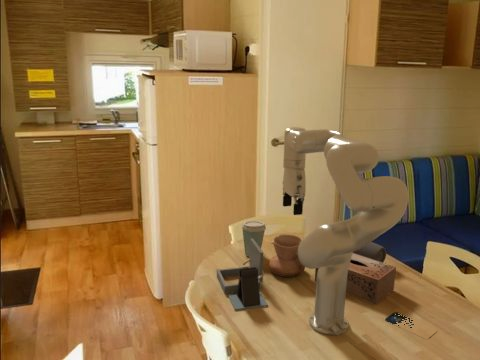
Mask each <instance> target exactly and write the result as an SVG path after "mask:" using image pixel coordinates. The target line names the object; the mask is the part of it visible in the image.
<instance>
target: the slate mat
mask: <svg viewBox="0 0 480 360" xmlns="http://www.w3.org/2000/svg"><path fill="white" fill-rule="evenodd" d="M259 294H260V305H253V306H247V307H244V306H243V304H242V303H241V301H240V300H239V298H238V297H237V293H230V294H227V295H228V298H229V300H230V304H231V306H232V307H233V309H234V312H235V311H243V310H251V309H257V308H266V307H269V304H268V302H267V301H266V299H265V298H264V296H263V294H262V292H261V290H259Z"/></svg>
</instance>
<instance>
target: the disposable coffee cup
mask: <svg viewBox="0 0 480 360" xmlns="http://www.w3.org/2000/svg"><path fill="white" fill-rule="evenodd" d="M266 227H267V226H266V224H265V222H263V221H259V220H247V221H245V222H243V223H242V224H241V229H242V236H243V244H244V245H243V247H244V254H245V256H246V257H248V258H250V239H251V238H253V239H254V240H255V242H256V243H257V244H258V246H259V247H260V249H261V250H262V246H263V242H264V236H265V231H266V230H267V229H266Z"/></svg>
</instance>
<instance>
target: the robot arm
mask: <svg viewBox="0 0 480 360" xmlns="http://www.w3.org/2000/svg"><path fill="white" fill-rule="evenodd" d="M283 139H284V140H283V168H284V169H283V177H282V178H283V179H282V190H283V191H282V195H283V196H282V206H283V207H284V208H285V207H291V206H292V199H293V202H294V203H293V210H292V211H293V212H292V213H293V214H292V215H294V216H299V215H301V216H302V215H303V208H304V201H305V196H306V192H307V191H306V190H307V189H306V186H307V185H306V184H307V182H306V171H305V169H306V158H307V157H306V155H307V154H314V153H315V154H316V153H323V154H324V158H325V160H326V161H325V162H326V168H327V170H328V172H329V175H330V177H331V178H332V181H333V183H334V184H335V187H336V188H337V190H338V193H339V196H341V199H342V201H343V202H344V204H345V206H346V207H348V209H350V211H353V212H356V214H354V215H353V216H352V217H350V218H348V219H343V220H338V221H332V222H328V223H327V222H326V223H323V224H322V225H319V226H317V227H316V228H314V229H313V230H312V231H311V232H310V233H309V234H307V235H306V236H305V237H304V238H302V239H303V240H302V241H301V242H300V244H299V247H298V258H299V261H300V262H301V264H302V265H303V266H305V268H307V269H312V270H314V269H315V268H319V269H318V272H317V280H316V281H315V284H316V285H315V299H314V312H313V313H312V314H310V316H309V318H308V319H309V320H308V322H309V325H310V327H311V328H312V329H313V330H315V331H316V332H319V333H321V334H324V335H336V336H340V335H341V334H342V333H345V332H346V331H347V330H348V328H349V321H348V318H347V317H345V311H346V310H345V307H346V297H347V296H346V295H347V294H346V286H347V276H348V268H349V264H350V261H351V258H352V253H353V252H354V251H357V250H359V249H361V248H362V247H363V246H365V245H366V244H368V243H369V242H373V241H374V240H376V239H377V238H378V237H379V236H381V235H383V234H384V233H386V232H388V231H389V230H390V229H392V228H393V227H394V226H395V225H397V224H398V222H400V220H401V219H402V218H403V216H404V214H405V213H406V210H407V208H408V205H409V204H408V203H409V190H408V187H407V185H406V183H405V182H404V181H403V180H402V179H400V178H398V177H396V176H388V175H385V176H384V175H383V176H374V177H366V178H360V177H359V175H358V174H363V173H367V172H370V171H371V170H373V169H374V168H375V167H376V166H377V165H378V164H379V158H380V156H379V152H378V150H377V149H376V147H374V146H373V145H372V144H370V143H368V142H364V141H361V140H356V139H352V138H349V137H345V136H344V135H343V133H342V132H339V131H336V130H332V129H331V130H330V129H322V128H321V129H307V130H306V129H305V128H304V127H300V126H299V127H298V126H297V127H296V126H291V127H287V128H286V129H285V131H284V138H283Z"/></svg>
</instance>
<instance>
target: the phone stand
mask: <svg viewBox="0 0 480 360" xmlns="http://www.w3.org/2000/svg"><path fill="white" fill-rule="evenodd" d="M238 276H239V277H238V283H237V284H238V288H237V292H236V294H237V297H238V298H239V300H240V301H241V303H242V304H243V306H244V307H247V306H253V305H260V294H259V291H260V290H259V284H258V269H256V267H255V268H248V269H241V270H240V271H239V275H238Z"/></svg>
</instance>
